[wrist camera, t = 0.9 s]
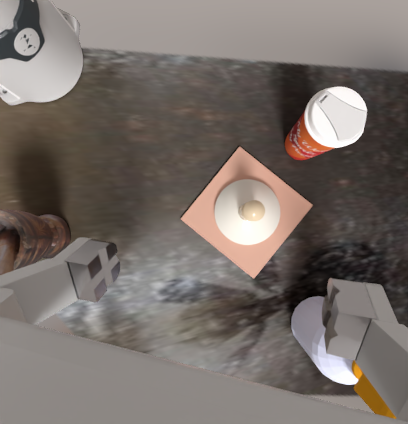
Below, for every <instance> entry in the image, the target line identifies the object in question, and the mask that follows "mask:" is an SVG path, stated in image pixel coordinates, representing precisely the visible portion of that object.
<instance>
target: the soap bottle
mask: <svg viewBox="0 0 408 424" xmlns="http://www.w3.org/2000/svg"><path fill="white" fill-rule="evenodd" d="M323 301H324V297H321V296H316V297H309V298H307V299H306V300H304V301H302V302H301V303H300V304H299V305H298V306H297V307H296V308H295V310H294V313H293V315H292V318H291V328H292V331H293V334H294V337H295V338H296V339H297V341H298V342H299V343H300V345H301V346H302V347H303V348H304V350H305V351H306V352H307V354H308V355H309V356H310V358H311V359H312V360H313V362H314V363H315V364H316V366H317V367H318V368H319V370H320V371H321V372H322V374H324V375H325V376H327V377H328V378H330V379H331V380H333V381H335V382H338V383H342V384H347V385H351V384H356V385H355V386H354V390H355V391H356V392H357V393H358V395H359V396H360V397H361V398H362V399H363V400H364V402H365V403H366V404H367V405H368V406H369V407H370V408H371V410H372V411H374V413H375V414H378V415H382V416H386V417H390V418H394V419H396V417H395V415H394V414H393V413H392V411H391V410H390V409H389V407H388V406H387V404H386V403H385V402H384V400H383V399H382V398H381V396H380V395H379V394H378V392H377V391H376V389H375V388H374V387H373V385H372V384H371V383H370V381H369V380H368V379H367V377H366V376H365V374H364V373H363V372H362V370H361V369H360V368H359V366H358V365H357V364H356V361H354V360H350V359H346V358H342V357H338V356H334V355H330V354H326V347H325V339H324V334H325V330H326V328H325V327H324V326H323V323H322V306H323Z"/></svg>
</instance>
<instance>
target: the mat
mask: <svg viewBox="0 0 408 424" xmlns="http://www.w3.org/2000/svg"><path fill="white" fill-rule="evenodd" d="M243 179H251V180H256V181H259V182H262V183H263V184H265V185H267V186H268V187H269V188H270V189H271V190H272V191H273V192H274V194H275V195H276V197H277V199H278V201H279V205H280V219H279V223H278V226H277V228H276V229H275V231H274V232H273V233H272V235H271V236H270V237H268V238H267V239H266V240H264V241H262V242H260V243H257V244H253V245H242V244H238V243H235V242H233V241H231V240H229V239H228V238H227V237H225V236H224V235H223V234H222V232H221V231H220V230H219V228H218V226H217V224H216V221H215V215H214V210H215V204H216V201H217V198H218V196H219V195H220V193H221V192H222V191H223V189H224V188H226V187H227V186H228V185H230V184H231V183H233V182H235V181H238V180H243ZM312 206H313V205H312V204H311V203H310V202H308V201H307V200H306V199H305V198H303V197H302V196H301V195H300V194H298V193H297V192H296V191H295V190H293V189H292V188H291V187H290V186H288V185H287V184H286V183H285V182H283V181H282V180H281V179H280V178H278V177H277V176H276V175H275V174H273V173H272V172H271V171H270V170H268V169H267V168H266V167H265V166H263V165H262V164H261V163H260V162H258V161H257V160H256V159H255V158H253V157H252V156H251V155H250V154H248V153H247V152H246V151H245V150H244V149H242V148H241V147H239V148H238V149H237V150H236V151H235V153H234V154H233V155H232V156H231V158H230V159H229V160H228V161H227V163H226V164H225V165H224V166H223V167H222V169H221V170H220V171H219V172H218V174H217V175H216V176H215V177H214V178H213V180H212V181H211V182H210V183H209V185H208V186H207V187H206V188H205V190H204V191H203V192H202V193H201V194H200V196H199V197H198V198H197V199H196V201H195V202H194V203H193V204H192V205H191V207H190V208H189V209H188V210H187V212H186V213H185V214H184V215H183V217H182V218H181V220H182V221H184V222H185V223H186V224H187V225H189V226H190V227H191V228H192V229H193V230H195V231H196V232H197V233H198V234H200V235H201V236H202V237H203V238H204V239H206V240H207V241H208V242H209V243H211V244H212V245H213V246H214V247H216V248H217V249H218V250H219V251H220V252H222V253H223V254H224V255H225V256H227V257H228V258H229V259H230V260H231V261H233V262H234V263H235V264H236V265H238V266H239V267H240V268H241V269H243V270H244V271H245V272H246V273H247V274H249V275H250V276H251V277H252V278H255V277H256V275H257V274H258V273H259V272H260V270H261V269H262V268H263V267H264V265H265V264H266V263H267V262H268V261H269V259H270V258H271V257H272V256H273V254H274V253H275V252H276V251H277V249H278V248H279V247H280V246H281V244H282V243H283V242H284V241H285V239H286V238H287V237H288V236H289V234H290V233H291V232H292V231H293V229H294V228H295V227H296V226H297V225H298V223H299V222H300V221H301V220H302V218H303V217H304V216H305V215H306V213H307V212H308V211H309V210H310V208H311V207H312Z"/></svg>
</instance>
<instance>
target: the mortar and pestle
mask: <svg viewBox="0 0 408 424" xmlns="http://www.w3.org/2000/svg"><path fill="white" fill-rule="evenodd" d="M69 242H70V230H69V227H68V225H67V223H66V222H65V221H64V220H63V219H62V218H60V217H58V216H55V215H50V214H45V215H41V216H35V215H33V214H31V213H28V212H24V211H15V210H1V209H0V275H2V274H5V273H8V272H11V271H14V270H17V269H20V268H23V267H26V266H28V265H31V264H34V263H36V262H37V261H39V260H40V259H42V258H54V257H55V256H56V255H58V254H59V253H60V252H61V251H63V250H64V249H65V248H66V247H67V246H68V244H69Z"/></svg>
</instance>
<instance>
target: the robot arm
mask: <svg viewBox="0 0 408 424" xmlns="http://www.w3.org/2000/svg"><path fill="white" fill-rule="evenodd" d="M79 32H80V24H79V22H78V21H77V20H76V18H75V17H74V16H72V15H70V14H68V13H66V12H64V11H62V10H60V9H58V8H57V7H56V6H55V5H54V4H53V3H52V1H51V0H0V97H1V98H2V99H3V100H4V101H5V102H6V103H7V104H9V105H17V104H20V103H23V102H28V101H29V102H49V101H53V100H56V99H58V98H60V97H62V96H64V95H65V94H66V93H68V92H69V91H70V90H71V89H72V88H73V87H74V85H75V84H76V83H77V81H78V79H79V77H80V75H81V72H82V67H83V54H82V49H81V46H80V43H79ZM6 91H7V93H5V92H6ZM116 253H117V247H116V245H115V244H114V243H112V242H106V241H101V240H96V239H89V238H84V237H81V238H78V239H76V240H75V241H74V242H73V243H71V244H70V245H69V246H68V247H66V248H65V249H64V250H63V251H61V252H60V253H59V254H58V255H56V256H55V257H54V258H53V259H46V260H43V261H40V262H37V263H34V264H31V265H28V266H26V267H23V268H20V269H17V270H14V271H11V272H8V273H5V274H2V275H0V424H408V328H407V327H406V326H404V325H401V324H398V322H397V320H396V317H395V315H394V312H393V310H392V308H391V305H390V303H389V301H388V298H387V296H386V294H385V291H384V289H383V287H382V286H381V285H379V284H371V283H364V282H363V283H361V282H354V281H348V280H342V279H335V278H330V279H329V281H328V285H327V291H328V295H326V296H325V297H324V301H323V306H322V323H323V326H324V327H325V328H326V330H325V334H324V339H325V347H326V354H330V355H334V356H338V357H342V358H346V359H350V360H354V361H356V364H357V365H358V366H359V368H360V369H361V370H362V372H363V373H364V374H365V376H366V377H367V379H368V380H369V381H370V383H371V384H372V385H373V387H374V388H375V389H376V391H377V392H378V394H379V395H380V396H381V398H382V399H383V400H384V402H385V403H386V404H387V406H388V407H389V409H390V410H391V411H392V413H393V414H394V415H395V417H396V419H394V418H390V417H386V416H382V415H378V414H374V413H371V412H367V411H363V410H359V409H355V408H351V407H347V406H343V405H339V404H336V403H332V402H328V401H324V400H321V399H317V398H313V397H309V396H305V395H302V394H298V393H294V392H290V391H286V390H282V389H279V388H275V387H271V386H267V385H263V384H259V383H256V382H252V381H248V380H244V379H240V378H236V377H233V376H229V375H225V374H221V373H217V372H213V371H210V370H206V369H202V368H198V367H194V366H190V365H187V364H183V363H179V362H175V361H171V360H167V359H164V358H160V357H156V356H152V355H148V354H144V353H141V352H137V351H133V350H129V349H125V348H121V347H118V346H114V345H110V344H106V343H102V342H98V341H94V340H91V339H87V338H83V337H79V336H75V335H71V334H68V333H63V332H60V331H56V330H52V329H48V328H45V327H41V326H37V324H38V323H40V322H42V321H43V320H45V319H47V318H48V317H50V316H52V315H53V314H55V313H57V312H59V311H60V310H62V309H64V308H65V307H67V306H69V305H70V304H72V303H74V302H75V301H77V300H78V299H81V300H86V301H91V302H98V301H99V300H100V298H101V297H102V296H103V295H104V294H105V292H106V291H107V286H108V285H110V284H112V283H114V281H115V280H116V279H117V277H118V274H119V272H120V262H119V260H118V258H117V257H116V256H115V255H116Z"/></svg>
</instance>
